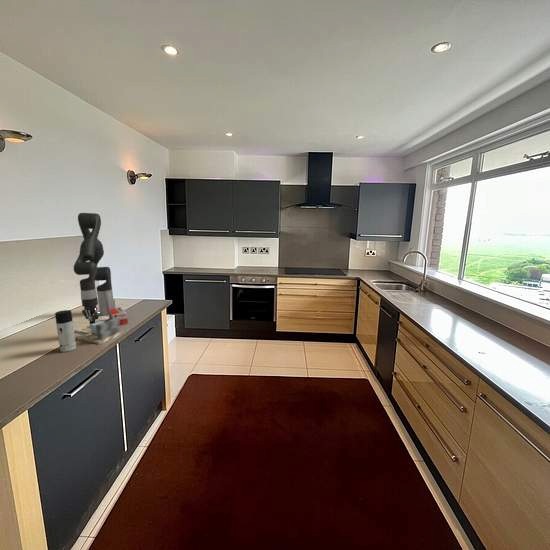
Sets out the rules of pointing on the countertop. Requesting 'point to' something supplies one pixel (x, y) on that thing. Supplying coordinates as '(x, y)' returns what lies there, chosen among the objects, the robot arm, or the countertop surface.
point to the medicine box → (118, 315)
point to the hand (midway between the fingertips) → (93, 326)
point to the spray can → (65, 330)
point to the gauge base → (100, 332)
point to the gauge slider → (94, 327)
